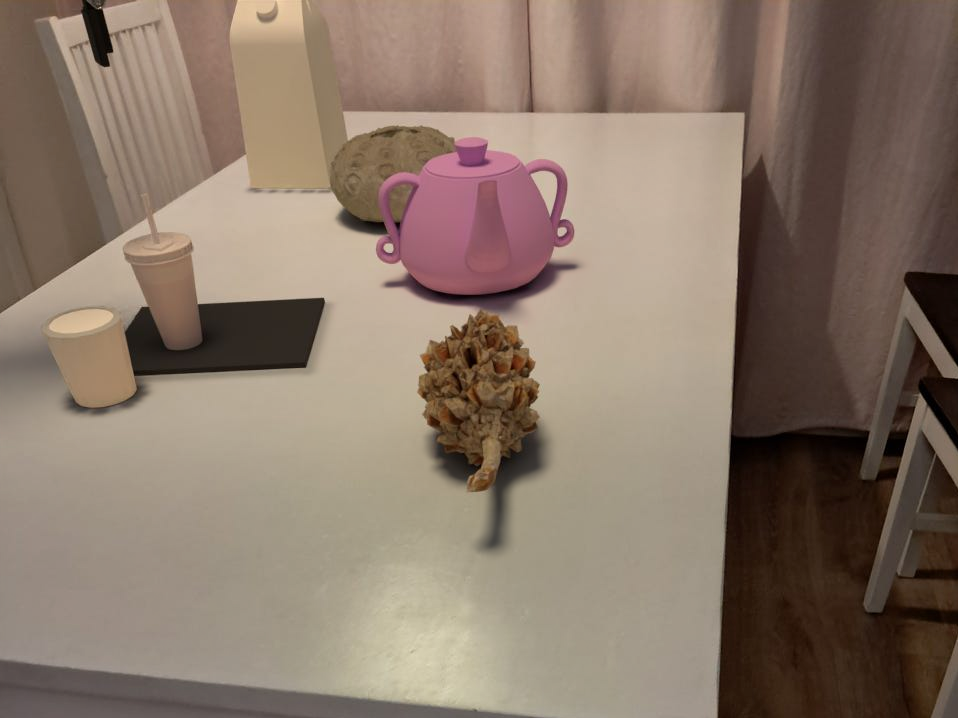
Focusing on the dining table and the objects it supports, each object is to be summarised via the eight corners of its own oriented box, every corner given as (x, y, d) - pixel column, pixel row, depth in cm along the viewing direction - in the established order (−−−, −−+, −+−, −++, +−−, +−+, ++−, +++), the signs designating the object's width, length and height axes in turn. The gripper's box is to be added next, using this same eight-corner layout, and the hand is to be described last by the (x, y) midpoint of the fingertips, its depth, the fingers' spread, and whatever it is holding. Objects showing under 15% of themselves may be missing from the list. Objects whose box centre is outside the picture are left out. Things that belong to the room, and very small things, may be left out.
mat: (98, 377, 89) (97, 372, 88) (142, 311, 100) (141, 306, 100) (305, 367, 88) (304, 362, 88) (325, 301, 100) (324, 297, 100)
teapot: (390, 334, 93) (373, 187, 84) (374, 259, 109) (359, 129, 100) (602, 310, 95) (609, 164, 86) (556, 240, 111) (557, 111, 102)
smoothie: (156, 361, 89) (111, 209, 80) (146, 337, 94) (102, 190, 85) (222, 347, 91) (185, 196, 82) (208, 324, 96) (172, 178, 86)
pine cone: (417, 408, 81) (406, 296, 74) (526, 398, 81) (524, 285, 75) (435, 557, 64) (423, 429, 58) (571, 543, 65) (574, 414, 58)
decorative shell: (324, 204, 126) (311, 122, 119) (448, 186, 130) (442, 105, 123) (351, 244, 113) (339, 155, 107) (488, 223, 117) (484, 136, 110)
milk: (352, 165, 140) (325, -47, 123) (330, 188, 132) (297, -36, 114) (277, 165, 142) (240, -44, 125) (250, 187, 134) (207, -33, 116)
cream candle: (147, 372, 89) (125, 300, 84) (139, 405, 84) (116, 331, 79) (73, 381, 88) (47, 309, 83) (62, 415, 83) (33, 340, 78)
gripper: (73, -208, 71) (138, 52, 82) (-177, -197, 65) (-70, 80, 77) (92, -213, 66) (158, 65, 77) (-177, -202, 60) (-63, 96, 72)
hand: (44, 72), depth 77 cm, fingers open, 9 cm apart
